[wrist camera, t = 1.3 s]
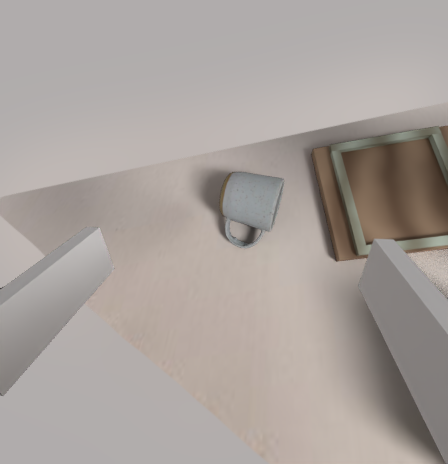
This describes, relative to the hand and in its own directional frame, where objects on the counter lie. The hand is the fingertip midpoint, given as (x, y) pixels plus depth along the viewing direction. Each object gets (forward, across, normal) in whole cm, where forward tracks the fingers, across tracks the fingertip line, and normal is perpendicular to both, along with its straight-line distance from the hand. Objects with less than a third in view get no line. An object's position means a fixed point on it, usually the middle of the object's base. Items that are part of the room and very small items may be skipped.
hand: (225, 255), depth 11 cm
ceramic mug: (+24, 0, -10) cm, 26 cm away
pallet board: (+27, +21, -7) cm, 35 cm away
